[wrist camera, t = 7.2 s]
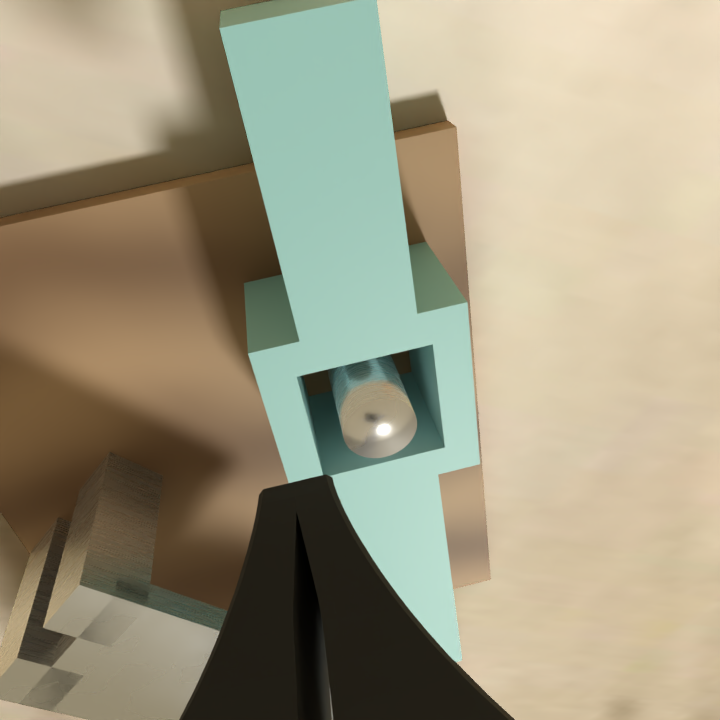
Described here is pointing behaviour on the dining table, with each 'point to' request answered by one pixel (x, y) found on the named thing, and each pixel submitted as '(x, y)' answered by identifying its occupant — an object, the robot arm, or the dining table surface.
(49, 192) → the dining table surface
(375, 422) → the cylinder
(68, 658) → the keeper
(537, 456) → the dining table surface
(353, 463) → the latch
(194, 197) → the board
